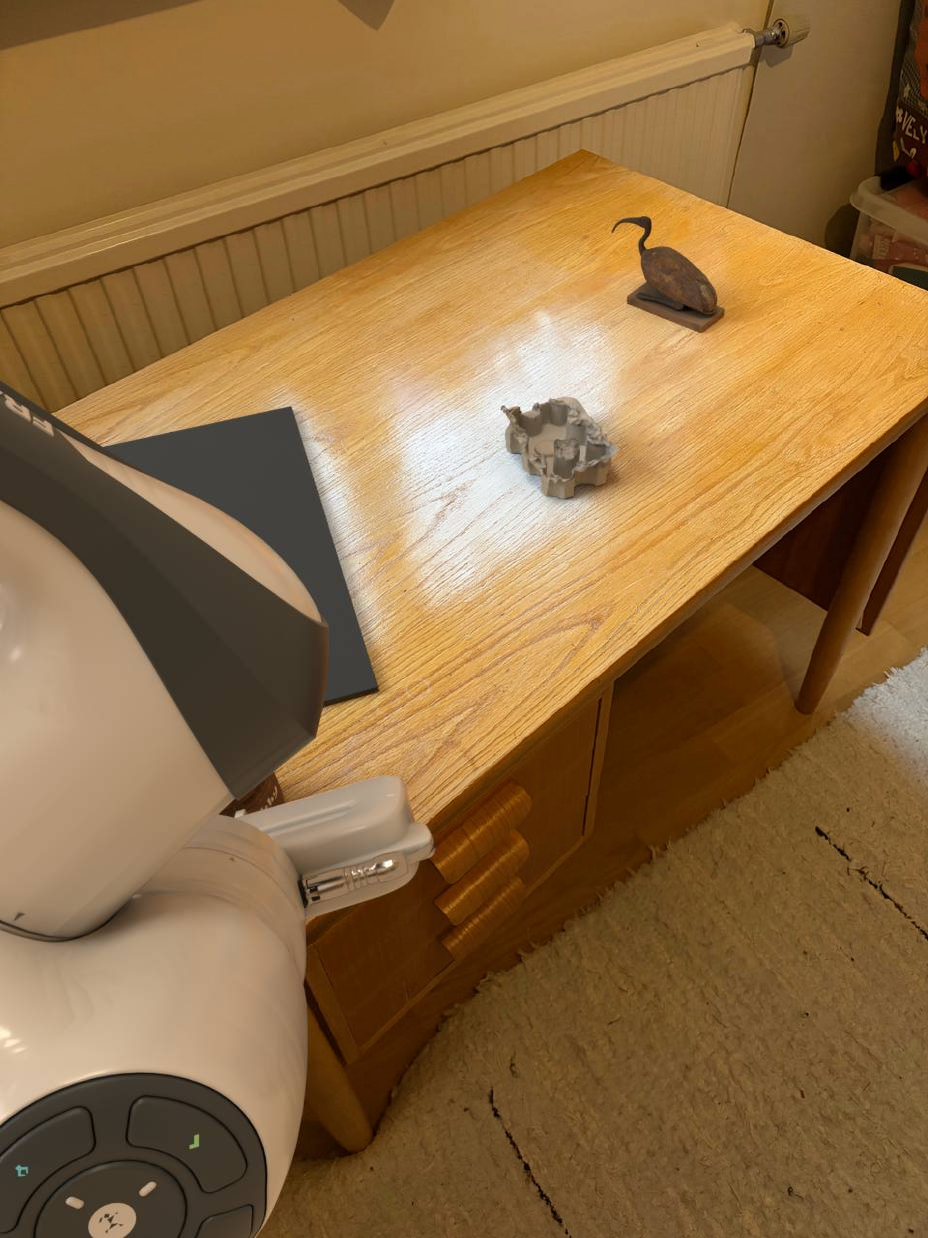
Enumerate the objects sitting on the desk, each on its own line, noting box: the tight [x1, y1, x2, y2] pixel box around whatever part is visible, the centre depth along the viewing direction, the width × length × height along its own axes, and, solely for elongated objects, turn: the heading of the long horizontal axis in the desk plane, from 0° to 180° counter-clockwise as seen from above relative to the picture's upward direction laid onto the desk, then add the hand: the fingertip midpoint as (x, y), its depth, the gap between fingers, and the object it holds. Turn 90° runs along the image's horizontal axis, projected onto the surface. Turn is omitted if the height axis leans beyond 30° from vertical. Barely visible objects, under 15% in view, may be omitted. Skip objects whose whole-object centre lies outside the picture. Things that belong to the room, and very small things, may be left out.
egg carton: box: [500, 396, 621, 499], centre depth 79 cm, size 11×8×4 cm
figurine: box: [611, 215, 726, 333], centre depth 94 cm, size 14×4×9 cm, turn 48°
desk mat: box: [103, 405, 380, 707], centre depth 74 cm, size 20×36×1 cm, turn 17°
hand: (223, 829), depth 49 cm, fingers closed
